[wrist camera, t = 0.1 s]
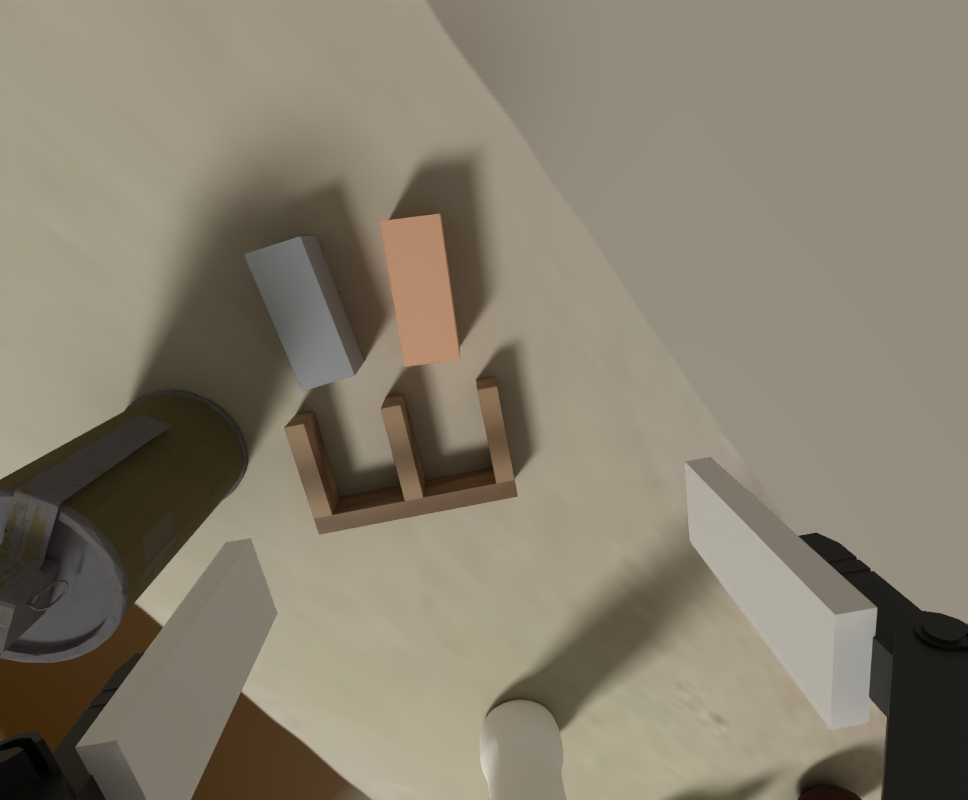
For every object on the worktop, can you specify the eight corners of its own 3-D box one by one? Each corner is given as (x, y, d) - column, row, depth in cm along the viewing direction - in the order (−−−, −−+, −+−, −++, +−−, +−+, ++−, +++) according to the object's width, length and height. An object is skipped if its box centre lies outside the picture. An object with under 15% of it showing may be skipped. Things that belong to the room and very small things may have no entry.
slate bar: (266, 251, 40) (243, 254, 36) (316, 235, 40) (300, 236, 35) (317, 375, 43) (302, 391, 39) (364, 360, 43) (354, 375, 39)
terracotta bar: (388, 222, 40) (379, 221, 35) (441, 215, 40) (439, 213, 35) (410, 352, 43) (404, 366, 39) (459, 346, 43) (460, 359, 39)
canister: (225, 523, 46) (65, 729, 27) (102, 480, 45) (-162, 667, 26) (265, 415, 44) (118, 561, 25) (135, 364, 42) (-133, 478, 23)
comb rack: (295, 414, 44) (284, 427, 41) (494, 375, 43) (497, 386, 41) (327, 515, 47) (319, 534, 44) (514, 479, 46) (517, 496, 44)
